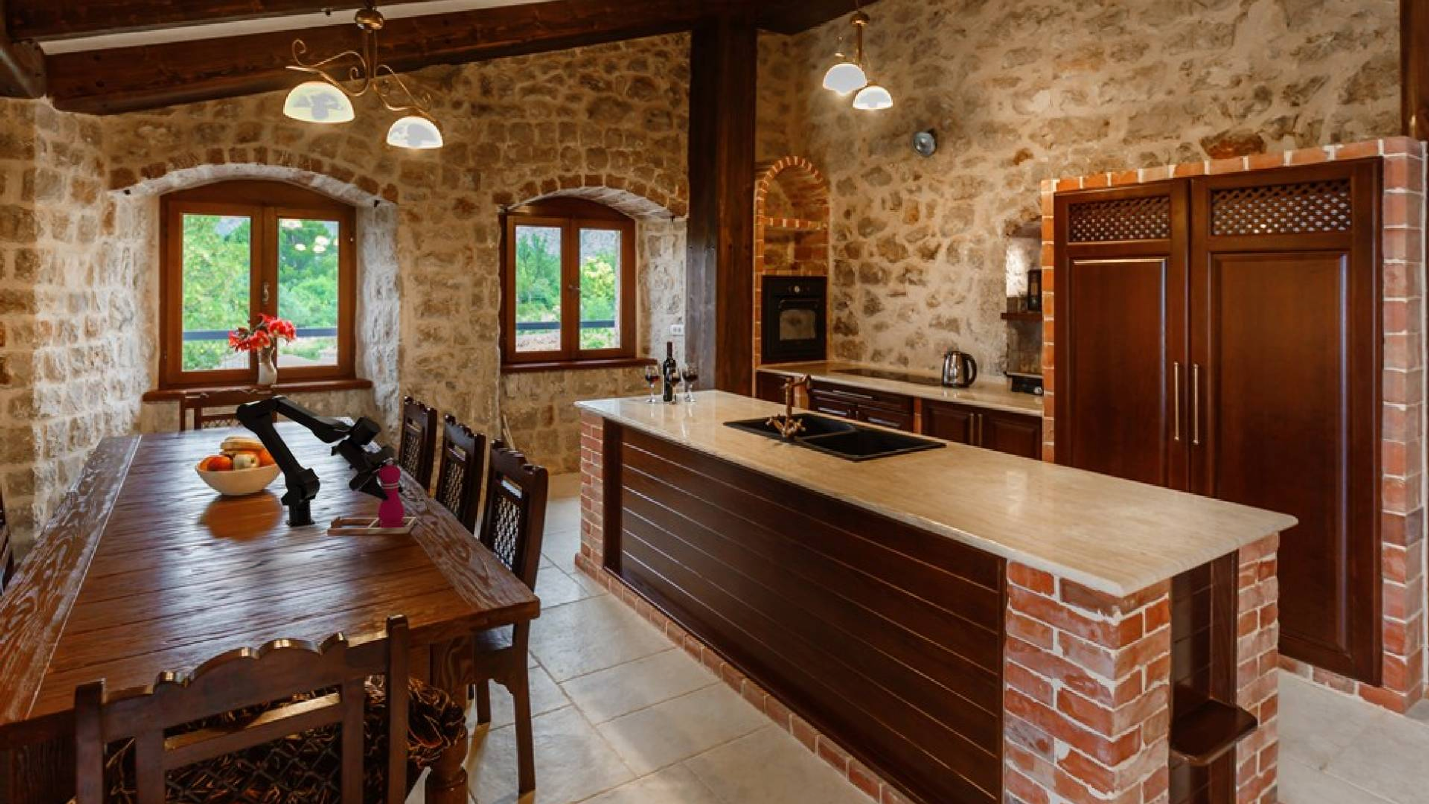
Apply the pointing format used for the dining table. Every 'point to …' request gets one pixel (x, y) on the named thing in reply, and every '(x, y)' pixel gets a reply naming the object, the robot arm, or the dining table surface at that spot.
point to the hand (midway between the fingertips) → (395, 495)
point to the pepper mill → (390, 497)
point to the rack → (371, 528)
